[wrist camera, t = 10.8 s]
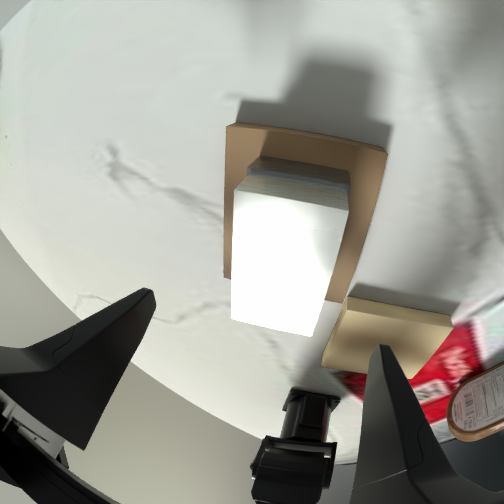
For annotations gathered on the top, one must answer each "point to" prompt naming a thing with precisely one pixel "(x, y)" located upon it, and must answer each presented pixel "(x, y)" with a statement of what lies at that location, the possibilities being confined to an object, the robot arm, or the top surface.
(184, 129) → the top surface
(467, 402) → the tin
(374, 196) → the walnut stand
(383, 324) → the oak stand
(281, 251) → the block
